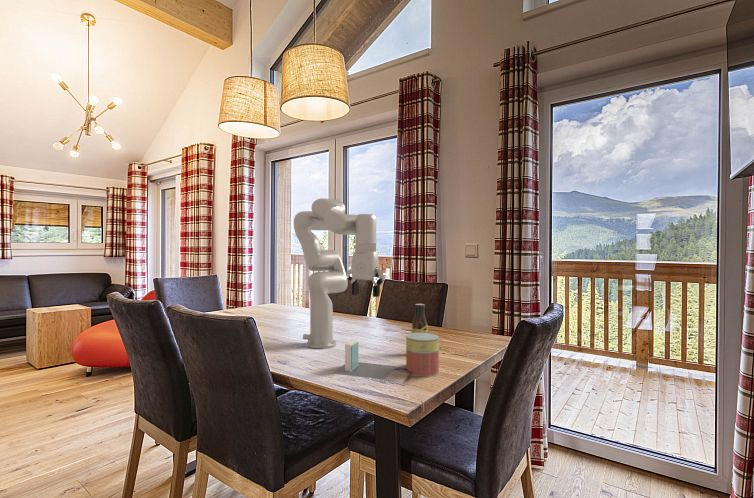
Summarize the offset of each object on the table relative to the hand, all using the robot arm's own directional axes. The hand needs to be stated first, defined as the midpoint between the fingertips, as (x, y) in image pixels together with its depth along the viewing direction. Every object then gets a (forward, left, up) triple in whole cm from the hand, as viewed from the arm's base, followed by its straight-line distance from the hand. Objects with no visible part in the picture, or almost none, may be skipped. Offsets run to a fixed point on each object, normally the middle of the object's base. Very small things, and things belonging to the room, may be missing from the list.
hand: (365, 295), depth 139 cm
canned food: (+21, -1, -25) cm, 33 cm away
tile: (-2, -9, -24) cm, 25 cm away
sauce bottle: (+16, +18, -25) cm, 35 cm away
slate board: (+3, -9, -25) cm, 27 cm away
